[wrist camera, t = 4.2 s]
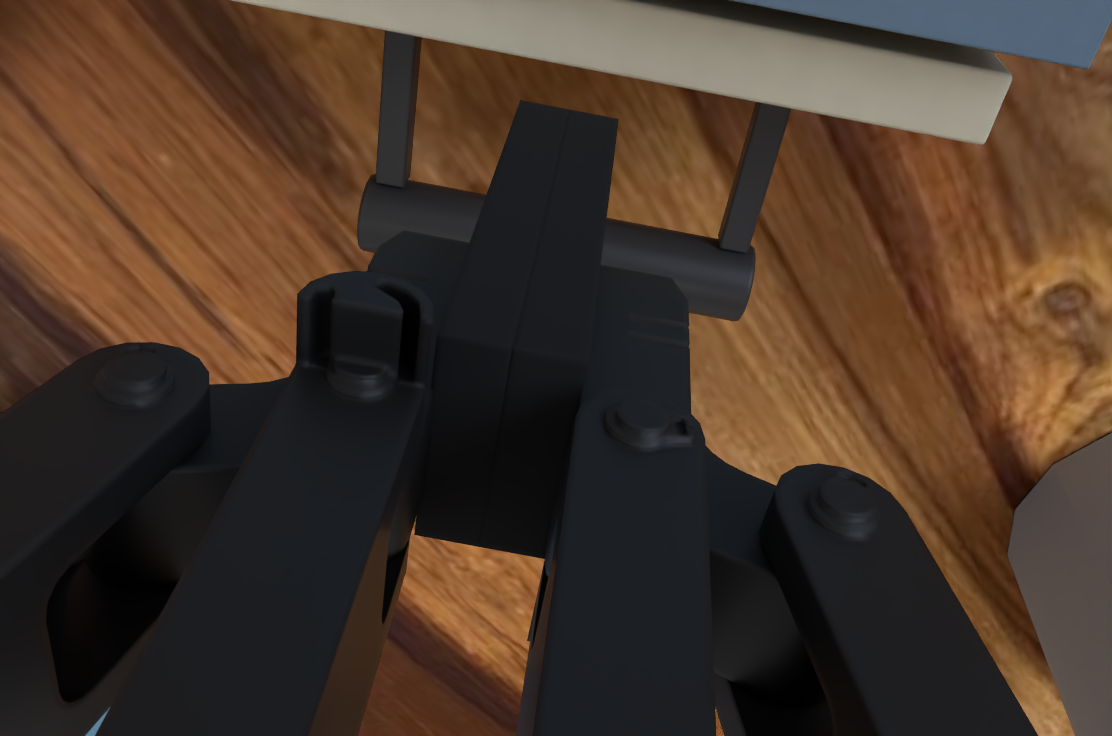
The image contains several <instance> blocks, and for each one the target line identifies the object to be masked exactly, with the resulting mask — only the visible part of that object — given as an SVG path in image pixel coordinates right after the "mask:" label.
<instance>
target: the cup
mask: <svg viewBox="0 0 1112 736" xmlns="http://www.w3.org/2000/svg"><path fill="white" fill-rule="evenodd" d="M1007 556H1008V559H1009V561H1010V564H1011V567H1012V569H1013V572H1014V575H1015V577H1016V580H1017V583H1018V585H1019V588H1020V591H1021V593H1022V596H1023V599H1024V601H1025V604H1026V607H1027V609H1028V612H1029V615H1030V617H1031V620H1032V622H1033V625H1034V628H1035V630H1036V633H1037V636H1038V638H1039V641H1040V644H1041V646H1042V649H1043V652H1044V654H1045V657H1046V660H1047V662H1048V665H1049V668H1050V670H1051V673H1052V676H1053V678H1054V681H1055V684H1056V686H1057V689H1058V692H1059V694H1060V697H1061V699H1062V702H1063V705H1064V707H1065V710H1066V713H1067V715H1068V718H1069V721H1070V723H1071V726H1072V729H1073V731H1074V734H1075V736H1112V433H1110V434H1108V435H1106V436H1104V437H1103V438H1101V439H1099V440H1097V441H1095V442H1094V443H1092V444H1090V445H1088V446H1086V447H1084V448H1083V449H1081V450H1079V451H1077V452H1075V453H1073V454H1072V455H1070V456H1068V457H1066V458H1064V459H1062V460H1061V461H1059V462H1057V463H1055V464H1053V465H1052V466H1051V468H1050V469H1049V470H1048V471H1047V472H1046V474H1045V475H1044V476H1043V477H1042V478H1041V479H1040V481H1039V482H1038V483H1037V484H1036V485H1035V487H1034V488H1033V489H1032V490H1031V491H1030V493H1029V494H1028V495H1027V496H1026V497H1025V499H1024V500H1023V501H1022V502H1021V503H1020V504H1019V506H1018V507H1017V508H1016V509H1015V514H1014V520H1013V525H1012V531H1011V537H1010V542H1009V548H1008V553H1007Z"/></svg>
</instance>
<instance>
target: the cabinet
mask: <svg viewBox="0 0 1112 736" xmlns="http://www.w3.org/2000/svg"><path fill="white" fill-rule="evenodd" d="M731 1H736V2H741V3H746V4H751V5H757V6H762V7H767V8H772V9H777V10H782V11H788V12H793V13H798V14H803V15H808V16H813V17H819V18H824V19H829V20H834V21H839V22H844V23H850V24H855V25H860V26H865V27H870V28H875V29H881V30H886V31H891V32H896V33H901V34H906V35H912V36H917V37H922V38H927V39H932V40H937V41H943V42H948V43H953V44H958V45H963V46H968V47H974V48H979V49H984V50H989V51H994V52H999V53H1005V54H1010V55H1015V56H1020V57H1025V58H1030V59H1036V60H1041V61H1046V62H1051V63H1056V64H1061V65H1067V66H1072V67H1077V68H1082V69H1088V68H1089V67H1090V65H1091V63H1092V61H1093V59H1094V57H1095V55H1096V53H1097V50H1098V48H1099V46H1100V44H1101V42H1102V40H1103V38H1104V35H1105V33H1106V31H1107V29H1108V27H1109V25H1110V23H1111V20H1112V0H731Z"/></svg>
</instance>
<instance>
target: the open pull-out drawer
mask: <svg viewBox="0 0 1112 736" xmlns="http://www.w3.org/2000/svg"><path fill="white" fill-rule="evenodd" d="M231 1H236V2H241V3H246V4H251V5H257V6H262V7H267V8H272V9H277V10H283V11H288V12H293V13H298V14H303V15H309V16H314V17H319V18H324V19H329V20H334V21H340V22H345V23H350V24H355V25H360V26H366V27H371V28H376V29H381V30H385V39H384V54H383V70H382V86H381V101H380V117H379V133H378V149H377V164H376V174H373V175H371V176H370V178H369V179H368V181H367V183H366V186H365V188H364V192H363V195H362V199H361V203H360V209H359V215H358V225H357V239H358V245H359V247H360V249H362V250H363V251H368V252H374V253H376V251H377V249H378V247H379V246H380V245H381V244H383V243H384V242H386V241H388V240H389V239H391V238H393V237H394V236H396V235H397V234H399V233H401V232H402V231H404V230H405V231H410V232H416V233H421V234H426V235H432V236H437V237H442V238H447V239H453V240H458V241H463V242H470V240H471V237H472V234H473V231H474V229H475V226H476V223H477V220H478V217H479V215H480V212H481V209H482V206H483V203H484V201H485V198H486V195H485V194H480V193H475V192H469V191H464V190H459V189H454V188H448V187H443V186H438V185H433V184H428V183H422V182H417V181H412V180H408V179H409V177H410V171H411V159H412V148H413V136H414V124H415V112H416V100H417V89H418V77H419V65H420V53H421V41H422V37H423V38H428V39H433V40H438V41H443V42H449V43H454V44H459V45H464V46H469V47H475V48H480V49H485V50H490V51H495V52H500V53H506V54H511V55H516V56H521V57H526V58H532V59H537V60H542V61H547V62H552V63H558V64H563V65H568V66H573V67H578V68H583V69H589V70H594V71H599V72H604V73H609V74H615V75H620V76H625V77H630V78H635V79H641V80H646V81H651V82H656V83H661V84H667V85H672V86H677V87H682V88H687V89H692V90H698V91H703V92H708V93H713V94H718V95H724V96H729V97H734V98H739V99H744V100H750V101H755V102H756V103H755V107H754V110H753V114H752V117H751V121H750V124H749V128H748V131H747V135H746V138H745V142H744V146H743V149H742V153H741V156H740V160H739V163H738V167H737V170H736V174H735V177H734V181H733V184H732V188H731V192H730V195H729V199H728V202H727V206H726V209H725V213H724V216H723V220H722V223H721V227H720V231H719V234H718V237H719V239H715V238H710V237H704V236H699V235H694V234H689V233H683V232H678V231H673V230H668V229H663V228H657V227H652V226H647V225H642V224H636V223H631V222H626V221H621V220H616V219H610V218H606V225H605V234H604V242H603V250H602V258H601V265H606V266H611V267H616V268H622V269H627V270H632V271H637V272H643V273H648V274H653V275H659V276H664V277H669V278H672V279H673V280H674V281H675V283H676V284H677V286H678V287H679V289H680V290H681V292H682V293H683V294H684V296H685V297H686V299H687V300H688V309H689V313H693V314H699V315H704V316H709V317H714V318H719V319H725V320H730V321H738V320H739V319H740V318H741V316H742V315H743V313H744V311H745V309H746V306H747V303H748V300H749V296H750V292H751V288H752V284H753V278H754V272H755V261H756V257H755V249H754V247H752V246H751V245H750V244H751V240H752V237H753V234H754V230H755V227H756V224H757V221H758V217H759V214H760V211H761V207H762V204H763V201H764V198H765V194H766V191H767V188H768V184H769V181H770V178H771V174H772V171H773V168H774V165H775V161H776V158H777V155H778V151H779V148H780V145H781V142H782V138H783V135H784V132H785V128H786V125H787V122H788V119H789V115H790V112H791V109H796V110H801V111H807V112H812V113H817V114H822V115H827V116H833V117H838V118H843V119H848V120H853V121H858V122H864V123H869V124H874V125H879V126H884V127H890V128H895V129H900V130H905V131H910V132H916V133H921V134H926V135H931V136H936V137H941V138H947V139H952V140H957V141H962V142H967V143H973V144H978V145H981V144H984V143H985V142H986V140H987V138H988V135H989V133H990V131H991V128H992V126H993V124H994V121H995V119H996V116H997V114H998V112H999V109H1000V107H1001V105H1002V102H1003V100H1004V98H1005V95H1006V93H1007V91H1008V88H1009V86H1010V84H1011V81H1012V74H1011V73H1010V72H1009V71H1008V69H1007V68H1006V67H1005V66H1004V65H1003V63H1002V62H1001V61H1000V60H999V59H998V57H997V56H996V55H995V54H994V53H993V52H992V51H989V50H984V49H979V48H974V47H968V46H963V45H958V44H953V43H948V42H943V41H937V40H932V39H927V38H922V37H917V36H912V35H906V34H901V33H896V32H891V31H886V30H881V29H875V28H870V27H865V26H860V25H855V24H850V23H844V22H839V21H834V20H829V19H824V18H819V17H813V16H808V15H803V14H798V13H793V12H788V11H782V10H777V9H772V8H767V7H762V6H757V5H751V4H746V3H741V2H736V1H731V0H231Z"/></svg>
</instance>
